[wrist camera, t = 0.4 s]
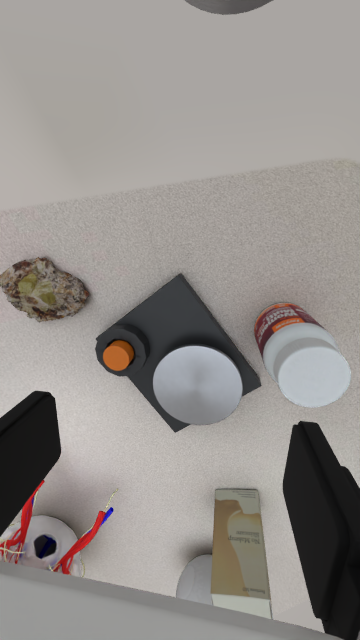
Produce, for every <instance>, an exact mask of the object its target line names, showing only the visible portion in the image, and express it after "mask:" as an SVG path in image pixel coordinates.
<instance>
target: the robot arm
mask: <svg viewBox="0 0 360 640" xmlns="http://www.w3.org/2000/svg"><path fill="white" fill-rule="evenodd" d="M60 454H61V445H60V436H59V428H58V420H57V411H56V403H55V398H54V397H53V396H52V394H51V393H49V392H43V391H34V392H32V393H31V394H30V395H29V396H27V397H26V398H25V399H24V400H22V401H21V402H20V403H19V404H17V405H16V406H15V407H14V408H12V409H11V410H10V411H9V412H7V413H6V414H5V415H4V416H2V417H1V418H0V537H1V536H2V534H3V533H4V532H5V530H6V529H7V528H8V526H9V525H10V524H11V522H12V521H13V520H14V518H15V517H16V516H17V514H18V513H19V512H20V510H21V509H22V507H23V506H24V505H25V503H26V502H27V501H28V499H29V498H30V497H31V495H32V494H33V493H34V491H35V490H36V489H37V487H38V486H39V485H40V483H41V482H42V481H43V479H44V478H45V477H46V475H47V474H48V473H49V471H50V470H51V469H52V467H53V466H54V465H55V463H56V462H57V461H58V459H59V457H60ZM283 494H284V498H285V502H286V506H287V510H288V514H289V518H290V522H291V526H292V530H293V534H294V538H295V542H296V546H297V550H298V554H299V558H300V562H301V566H302V570H303V574H304V578H305V582H306V586H307V590H308V594H309V597H310V601H311V605H312V609H313V613H314V615H315V617H316V618H320V619H321V620H322V624H323V627H324V631H325V633H322V632H319V631H315V630H312V629H308V628H305V627H302V626H298V625H294V624H289V623H285V622H281V621H277V620H273V619H269V618H265V617H260V616H256V615H252V614H248V613H244V612H239V611H235V610H230V609H226V608H221V607H217V606H212V605H207V604H203V603H198V602H194V601H189V600H184V599H180V598H175V597H171V596H166V595H162V594H157V593H152V592H148V591H143V590H138V589H134V588H129V587H124V586H119V585H115V584H110V583H105V582H101V581H96V580H91V579H86V578H81V577H77V576H72V575H67V574H62V573H58V572H53V571H48V570H43V569H38V568H33V567H29V566H24V565H19V564H14V563H9V562H4V561H0V640H360V488H359V487H358V485H357V483H356V481H355V480H354V478H353V476H352V474H351V473H350V471H349V470H348V469H347V468H346V467H344V466H340V464H339V462H338V460H337V458H336V456H335V454H334V453H333V451H332V449H331V447H330V445H329V443H328V441H327V440H326V438H325V436H324V434H323V432H322V430H321V428H320V427H319V425H318V424H317V423H313V422H304V421H300V422H299V423H298V425H293V428H292V434H291V440H290V445H289V451H288V456H287V462H286V467H285V473H284V479H283Z"/></svg>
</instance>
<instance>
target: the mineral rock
mask: <svg viewBox="0 0 360 640" xmlns="http://www.w3.org/2000/svg"><path fill="white" fill-rule="evenodd" d="M0 286H1V287H2V289H3V292H4V293H5V294H6V297H7V300H8V301H9V302H11V304H13V306H14V307H15V308H17V309H18V310H20V311H24V312H27V313H28V314H27V317H29V318H31V319H32V318H35V319H36V320H37V321H38V322H42V321H48V320H53V319H55V320H56V319H60V318H64V317H65V316H68V315H69V316H74V315H75V314H76V313H78V310H79V309H80V308H82V307H84V306H85V302H84V301H85V298H87V297H89V293H88V292H87V291H86V290H84V288H83V283H82V282H81V281H80V280H79V279H78V278H76V277H73V276H72V275H71V274H69V273H66V272H61V271H59V270H57V269H56V268H55V267H53V265H52V262H51V261H49V260H48V259H46V258H42V259H41V258H39V257H38V258H37V259H36V260H33V261H31V260H28V261H26V260H23V261H21V262H18V263H16V264H14V265H13V266H12V267H11V268H9V269H7V270H6V271H5V272H3V273H2V274H1V275H0Z"/></svg>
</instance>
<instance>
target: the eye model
mask: <svg viewBox="0 0 360 640" xmlns="http://www.w3.org/2000/svg"><path fill="white" fill-rule="evenodd" d="M211 573H212V555H209V554H208V555H201V556H198V557H196V558H194V559H193V560H192V561H190V562H189V563H188V564H187V566H186V567H185V568H184V570H183V572H182V574H181V576H180V578H179V581H178V585H177V590H176V598H180V599H184V600H189V601H194V602H198V603H203V604H207V605H212V602H211V595H210V592H211Z"/></svg>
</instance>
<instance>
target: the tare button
mask: <svg viewBox="0 0 360 640" xmlns="http://www.w3.org/2000/svg"><path fill="white" fill-rule="evenodd" d="M133 357H134V351H133V348H132V346H131V345H130V344H129V343H128V342H126V341H123V340H117V341H114V342H113V343H112V344H111V345H109V346H108V347H107V348H106V349H105V351H104V353H103V360H104V362H105V364H106V365H107V366H108V367H109V368H110V369H112V370H116V371H120V370H123V369H125V368H126V367H127V366H128V365H129V363H130V362H131V360H132V359H133Z"/></svg>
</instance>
